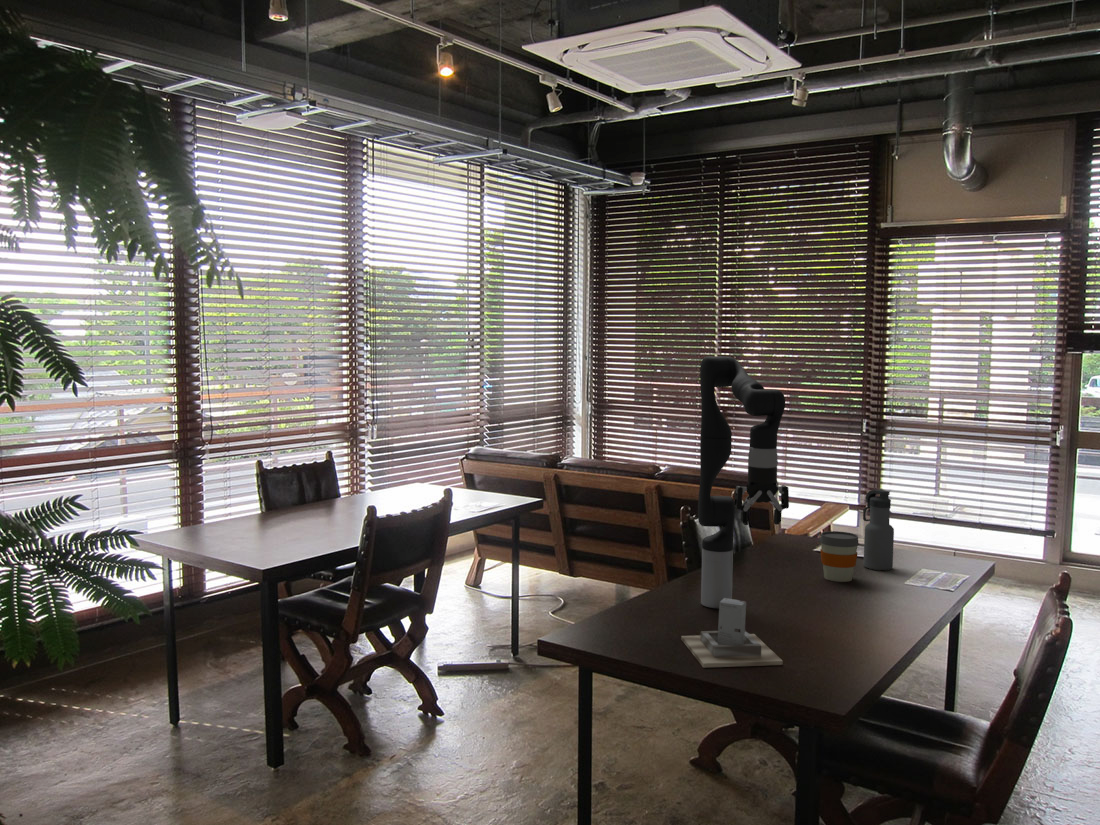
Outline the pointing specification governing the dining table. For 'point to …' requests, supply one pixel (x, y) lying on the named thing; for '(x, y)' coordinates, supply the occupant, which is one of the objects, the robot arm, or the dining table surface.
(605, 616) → the dining table surface
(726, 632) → the skincare box
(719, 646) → the square frame tray
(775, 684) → the dining table surface
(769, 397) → the robot arm
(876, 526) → the water bottle
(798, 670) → the dining table surface
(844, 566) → the reusable coffee cup
